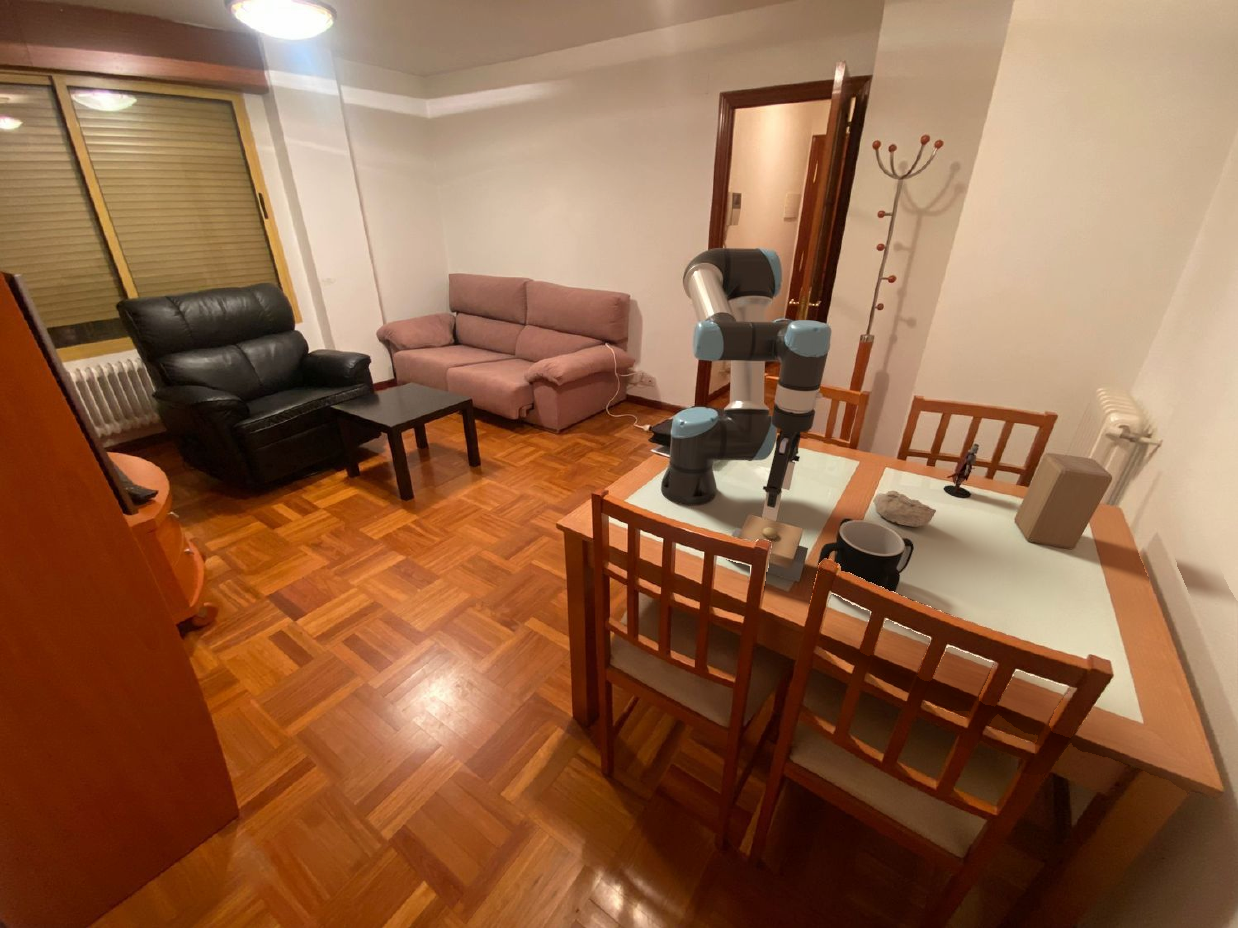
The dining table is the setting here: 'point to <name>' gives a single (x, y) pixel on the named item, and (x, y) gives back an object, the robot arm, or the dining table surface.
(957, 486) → the figurine
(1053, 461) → the wooden block
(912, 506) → the stone
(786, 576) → the riser
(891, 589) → the mug
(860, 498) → the dining table surface
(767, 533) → the lid
